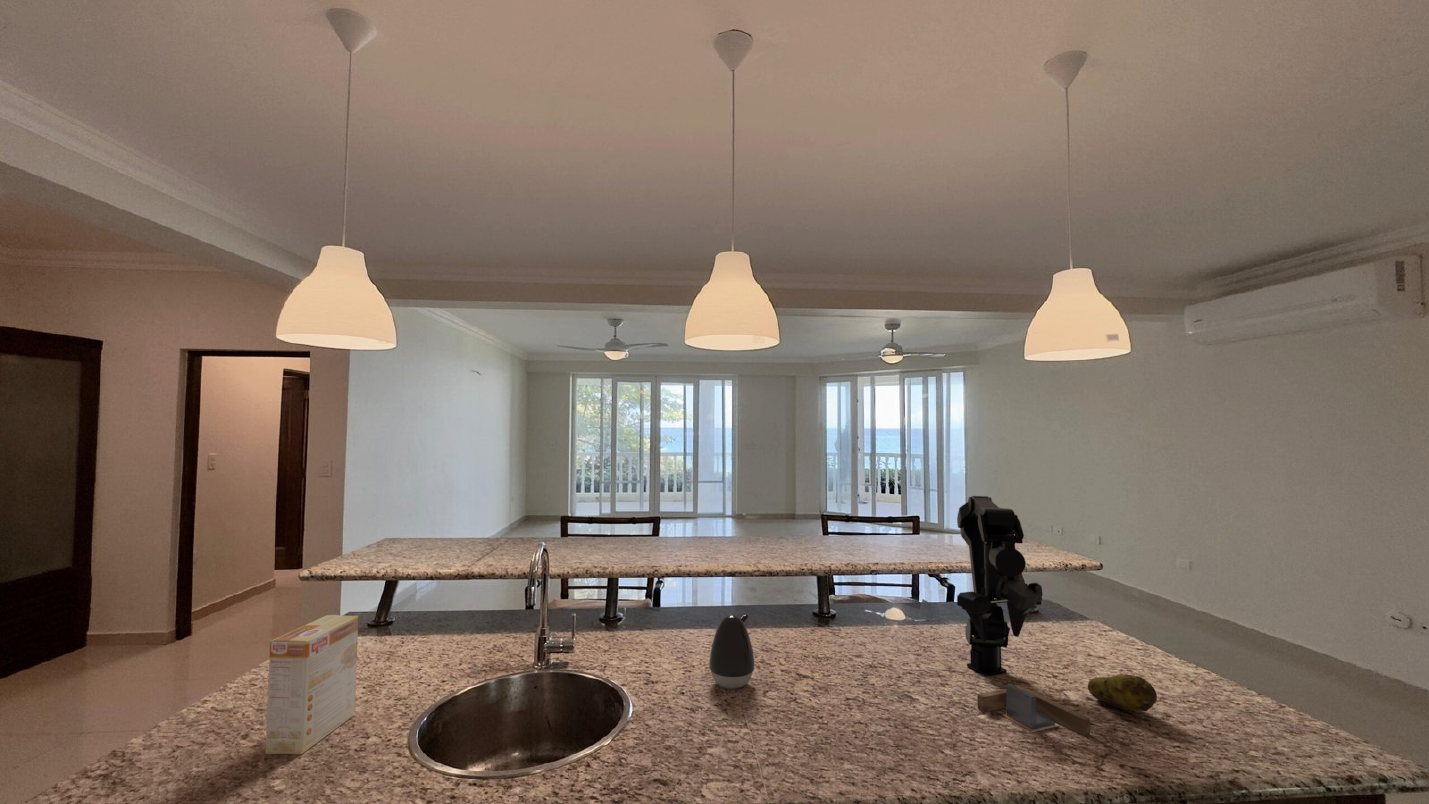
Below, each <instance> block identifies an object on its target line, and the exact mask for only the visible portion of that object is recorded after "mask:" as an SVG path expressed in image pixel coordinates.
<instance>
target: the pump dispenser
mask: <svg viewBox="0 0 1429 804" xmlns="http://www.w3.org/2000/svg"><path fill="white" fill-rule="evenodd" d="M748 618H749V616H748V614H743V615H742V616H741V617H739V616H738V615H734V614H729V615H727V616H725V617H723V618H722V619H721V621H720V623H719V624H718V626H717V628H716V631H715V634H714V637H713V640H712V643H711V649H710V654H709V662H708V663H709V665H708V666H709V667H708V668H709V671H710V673H711V677H712V678H713V680H714V682H715V683H716V684H717V685H719V686H721V687H722V688H725V689H732V690H734V689H740V688H743V687H744V686H746V685H747V684H748V683H749V682H750V680H751V679H752V676H753V673H754V671H755V657H754V650H753V645H752V642H751V637H750V634H749V632H748V629H747V626H746V624H745V622H746V621H747V620H748Z"/></svg>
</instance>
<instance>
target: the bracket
mask: <svg viewBox="0 0 1429 804" xmlns="http://www.w3.org/2000/svg"><path fill="white" fill-rule="evenodd" d="M1015 686H1016V685H1014V684H1011V683H1010V684H1006V685H1005V689H1006V708H1005V710H1006V714H1007V716H1008V717H1010V718H1012V719H1014V720H1015V721H1017V722H1019V723H1021V724H1023V725H1024V726H1026V727H1028V728H1030V729H1032V730H1033V729H1037V728H1042V727H1047V726H1051V725H1055V723H1056V721H1055V719H1053V718H1051V717H1049V716H1047V715H1045V714H1044V713H1042V712H1040V711H1038V710H1036V696H1034V695H1032V694H1030V693H1028V692H1026V691H1024V690H1022V689H1020V688H1018V687H1015Z"/></svg>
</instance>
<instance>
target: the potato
mask: <svg viewBox="0 0 1429 804" xmlns="http://www.w3.org/2000/svg"><path fill="white" fill-rule="evenodd" d="M1087 690H1088V692H1089V694H1091V695H1092V697H1093V698H1095V699H1096V700H1098V701H1101V702H1102V703H1106V704H1108V705H1110V706H1112V707H1114V708H1116V709H1120V710H1124V711H1139V712H1147V711H1148V710H1149V709H1152V707H1154V705H1155V704H1156V703H1157V701H1158V699H1157V698H1158V695H1157V692H1156V690H1155V688H1154V687H1153V685H1152V684H1151V683H1150V682H1149V681H1147V680H1146V679H1145V678H1143V677H1141V676H1137V675H1134V674H1133V675H1132V674H1126V673H1125V674H1118V675H1117V674H1116V675H1113V676H1110V677H1106V676H1105V677H1100V676H1099V677H1093V678H1090V679H1089V681H1088V682H1087Z"/></svg>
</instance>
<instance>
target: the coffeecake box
mask: <svg viewBox="0 0 1429 804" xmlns="http://www.w3.org/2000/svg"><path fill="white" fill-rule="evenodd" d="M358 632H359V615H342V614H327V615H324V616H322V617H320V618H318V619H316V620H313V621H311V622H309V623H307V624H304V625H302V626H300V627H298V628H296V629H293V630H291V631H289V632H287V633H285V634H283V635H280V636H278V637H276V638H274V639H271V640H269V654H268V656H269V659H268V661H269V662H268V681H267V683H268V685H267V704H266V705H267V706H266V728H265V730H266V731H265V735H266V736H265V752H264V753H265V755H266V754H267V755H268V754H269V755H280V754H281V755H303V754H304V753H306V751H308V750H310V749H311V748H312V747H313V746H315V745H316V744H317V743H319V742H320V741H321V740H323V739H324V738H325V737H327V736H328V735H330V734H331V733H332V732H333V731H335V730H337V729H338V728H339V727H340V726H342V725H343V724H344V723H346V722H347V721H348V720H350V719H351V718H353V717H354V716H355V715H356V693H357V692H356V691H357V689H356V688H357V669H358V668H357V666H358V663H357V660H358V637H359V636H358V635H359V634H358Z"/></svg>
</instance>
